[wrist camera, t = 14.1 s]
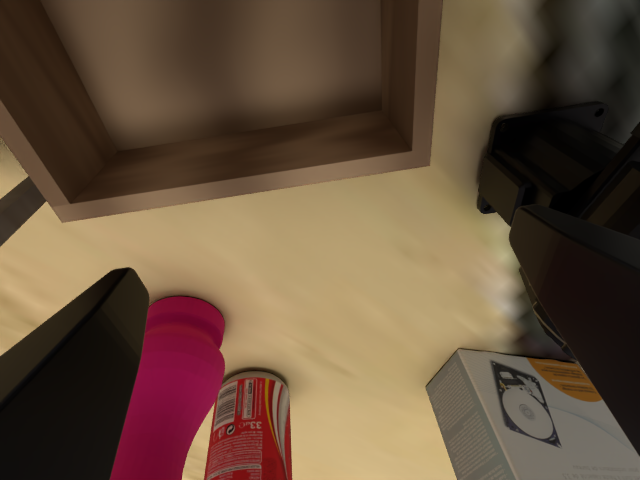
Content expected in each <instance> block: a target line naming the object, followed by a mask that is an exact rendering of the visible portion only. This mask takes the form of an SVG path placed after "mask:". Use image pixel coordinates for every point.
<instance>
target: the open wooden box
mask: <svg viewBox="0 0 640 480" xmlns="http://www.w3.org/2000/svg"><path fill="white" fill-rule="evenodd" d="M442 5H443V0H0V136H1V137H2V139H3V140H4V142H5V143H6V144H7V146H8V147H9V149H10V150H11V152H12V153H13V154H14V156H15V157H16V159H17V160H18V161H19V163H20V164H21V166H22V167H23V168H24V170H25V171H26V173H27V174H28V175H29V176H28V177H27V178H26V179H25V180H23V181H22V182H21V183H20V184H18V185H17V186H16V187H15V188H14V189H12V190H11V191H10V192H9V193H7V194H6V195H5V196H4V197H3V198H1V199H0V246H1V245H2V244H4V243H5V242H6V241H7V240H8V239H9V238H10V237H11V236H12V235H13V234H14V233H15V232H16V231H17V230H18V229H19V228H20V227H21V226H22V225H23V224H24V223H25V222H26V221H27V220H28V219H29V218H30V217H31V216H32V215H33V214H34V213H35V212H36V211H37V210H38V209H39V208H40V207H41V206H42V205H43V204H44V203H45V202H46V201H47V202H48V204H49V205H50V206H51V208H52V209H53V211H54V212H55V213H56V215H57V216H58V218H59V219H60V220H61V222H62V223H64V222H70V221H76V220H83V219H89V218H96V217H102V216H109V215H115V214H122V213H128V212H135V211H141V210H148V209H154V208H160V207H167V206H173V205H180V204H186V203H193V202H199V201H206V200H212V199H219V198H225V197H232V196H238V195H244V194H251V193H257V192H264V191H270V190H277V189H283V188H290V187H296V186H303V185H309V184H316V183H322V182H328V181H335V180H341V179H348V178H354V177H361V176H367V175H374V174H380V173H387V172H393V171H399V170H406V169H412V168H419V167H425V166H430V157H431V145H432V132H433V119H434V107H435V94H436V81H437V68H438V56H439V43H440V30H441V18H442Z"/></svg>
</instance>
